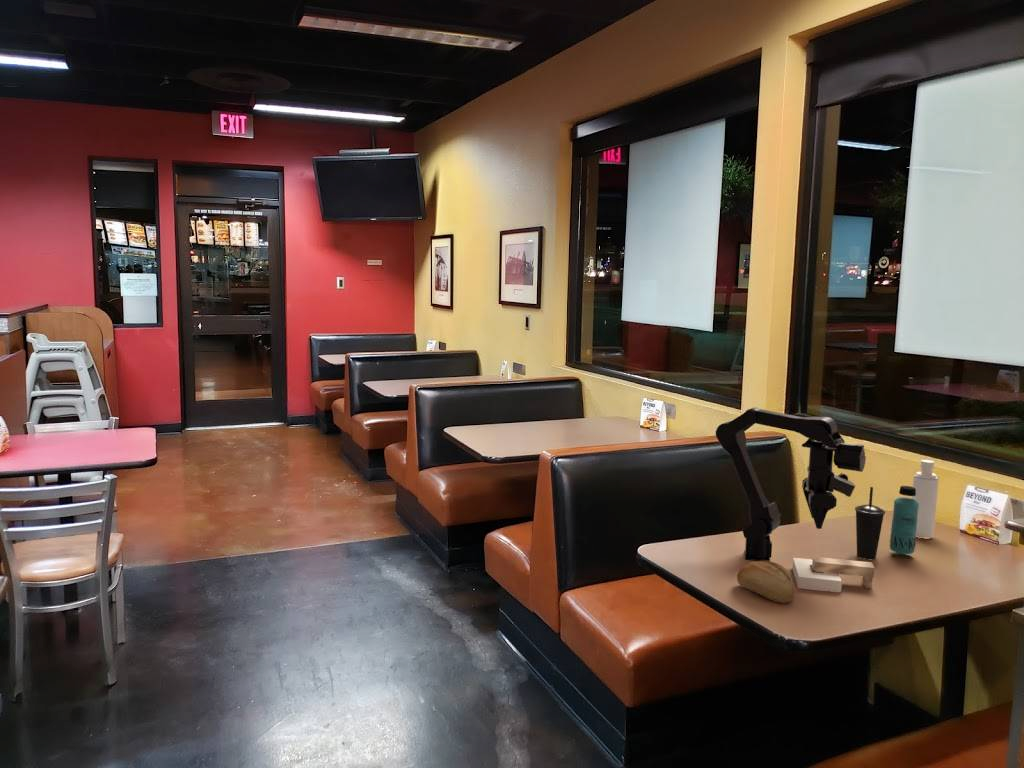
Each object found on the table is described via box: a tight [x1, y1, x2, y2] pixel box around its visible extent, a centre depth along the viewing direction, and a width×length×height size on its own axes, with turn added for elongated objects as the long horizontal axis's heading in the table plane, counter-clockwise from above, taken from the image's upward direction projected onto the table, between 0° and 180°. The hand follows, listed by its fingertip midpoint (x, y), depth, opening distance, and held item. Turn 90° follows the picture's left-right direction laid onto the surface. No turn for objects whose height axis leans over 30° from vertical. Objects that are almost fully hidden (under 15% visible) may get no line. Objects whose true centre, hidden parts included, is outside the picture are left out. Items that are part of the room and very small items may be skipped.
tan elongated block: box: [812, 556, 876, 589], centre depth 193 cm, size 14×4×6 cm, turn 76°
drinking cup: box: [854, 486, 886, 560], centre depth 212 cm, size 8×8×20 cm
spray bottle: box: [911, 459, 940, 538], centre depth 231 cm, size 7×7×25 cm
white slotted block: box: [791, 557, 843, 594], centre depth 195 cm, size 10×14×3 cm
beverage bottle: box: [889, 485, 919, 555], centre depth 213 cm, size 6×7×20 cm
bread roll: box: [736, 560, 795, 604], centre depth 185 cm, size 10×15×8 cm, turn 38°
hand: (816, 523), depth 200 cm, fingers open, 9 cm apart
